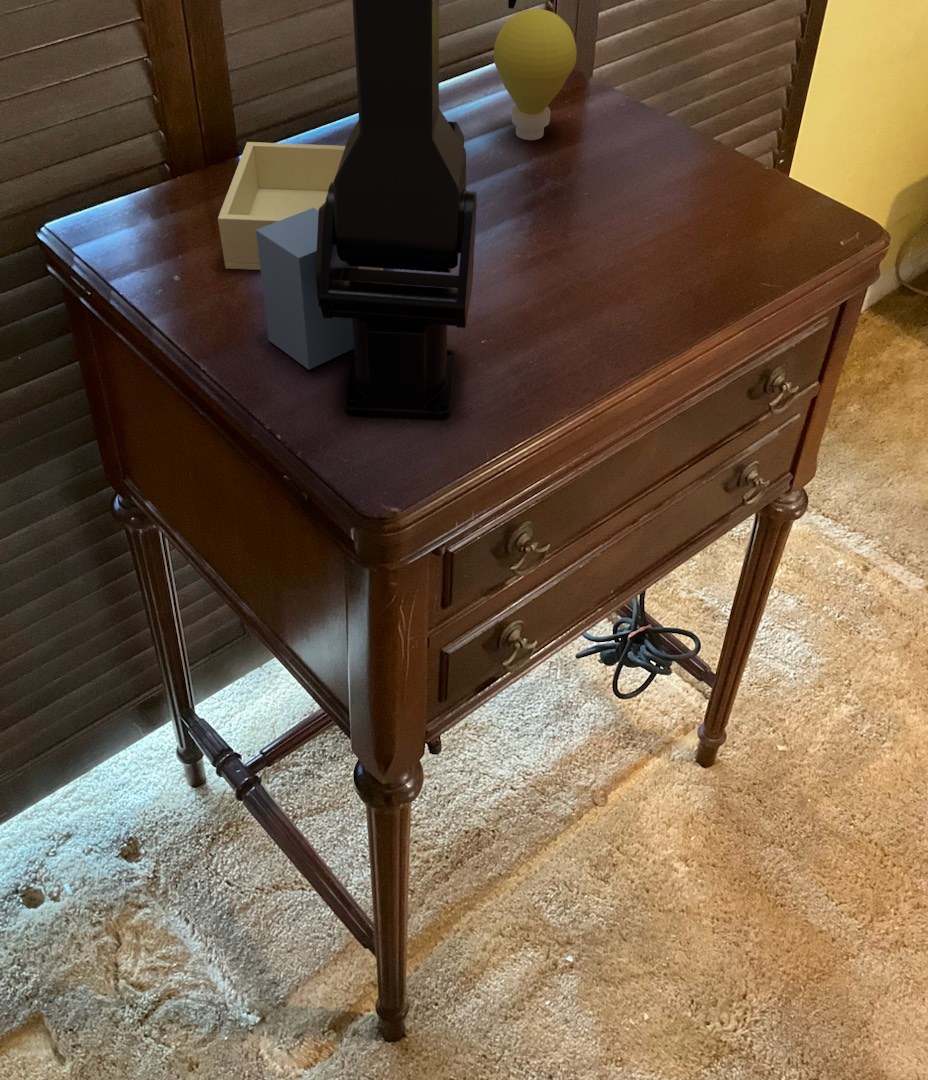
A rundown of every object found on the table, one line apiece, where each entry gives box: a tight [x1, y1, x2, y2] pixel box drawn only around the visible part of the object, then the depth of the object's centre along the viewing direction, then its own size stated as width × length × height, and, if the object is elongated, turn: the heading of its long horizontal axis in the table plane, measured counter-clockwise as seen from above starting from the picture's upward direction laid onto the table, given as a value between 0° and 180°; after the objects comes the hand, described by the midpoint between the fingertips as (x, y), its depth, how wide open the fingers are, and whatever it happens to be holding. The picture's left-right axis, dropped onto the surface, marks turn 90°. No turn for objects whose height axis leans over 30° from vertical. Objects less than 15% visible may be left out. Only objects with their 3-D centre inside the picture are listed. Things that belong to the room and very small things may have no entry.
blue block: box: [256, 208, 359, 371], centre depth 70 cm, size 4×4×8 cm
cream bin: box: [217, 141, 384, 271], centre depth 81 cm, size 11×11×4 cm
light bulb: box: [493, 8, 578, 141], centre depth 91 cm, size 7×7×10 cm
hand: (446, 2), depth 78 cm, fingers open, 9 cm apart
